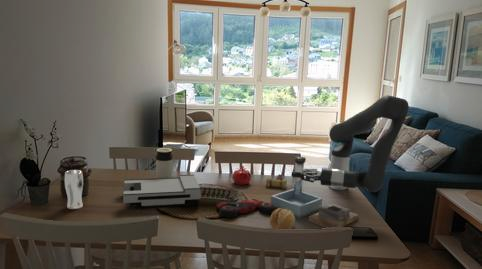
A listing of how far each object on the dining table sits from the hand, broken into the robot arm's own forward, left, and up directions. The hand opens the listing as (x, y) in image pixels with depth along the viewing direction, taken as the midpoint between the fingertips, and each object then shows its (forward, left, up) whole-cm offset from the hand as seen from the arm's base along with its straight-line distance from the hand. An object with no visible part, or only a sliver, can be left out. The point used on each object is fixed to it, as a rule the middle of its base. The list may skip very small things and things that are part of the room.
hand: (292, 172), depth 170 cm
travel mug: (+27, -59, -16) cm, 67 cm away
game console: (+40, -42, -16) cm, 60 cm away
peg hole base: (-4, +20, -16) cm, 26 cm away
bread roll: (+21, +13, -16) cm, 29 cm away
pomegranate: (-6, -37, -16) cm, 41 cm away
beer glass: (+72, -57, -16) cm, 93 cm away
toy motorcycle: (+18, -10, -16) cm, 27 cm away
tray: (-2, +2, -16) cm, 16 cm away
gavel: (-23, -26, -17) cm, 39 cm away
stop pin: (-1, +3, -9) cm, 9 cm away
